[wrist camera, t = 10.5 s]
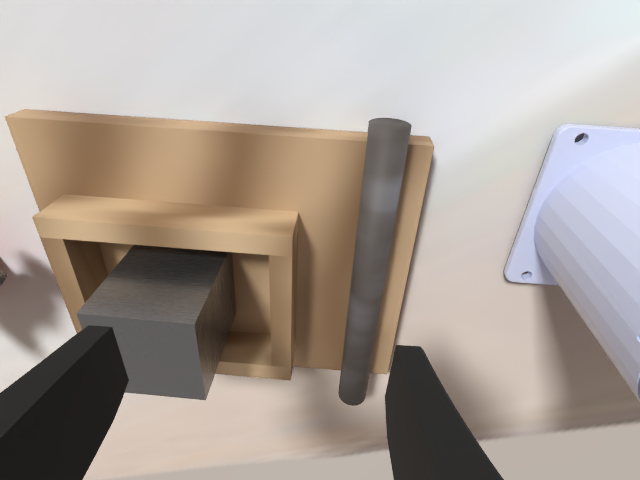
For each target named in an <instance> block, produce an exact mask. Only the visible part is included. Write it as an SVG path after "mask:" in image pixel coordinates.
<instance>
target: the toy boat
mask: <svg viewBox="0 0 640 480" xmlns="http://www.w3.org/2000/svg"><path fill="white" fill-rule="evenodd" d="M6 277H7V274H6V273H5V272H3V271H1V270H0V285H1V284H2V283H3V281H4V280H5V278H6Z"/></svg>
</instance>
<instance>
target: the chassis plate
mask: <svg viewBox="0 0 640 480" xmlns="http://www.w3.org/2000/svg"><path fill="white" fill-rule="evenodd" d="M5 119H6V121H7V124H8V127H9V130H10V132H11V135H12V138H13V140H14V143H15V146H16V149H17V151H18V154H19V157H20V159H21V162H22V165H23V168H24V170H25V173H26V176H27V178H28V181H29V184H30V187H31V189H32V192H33V195H34V197H35V200H36V203H37V205H38V208H39V211H40V212H39V213H37V214H36V215H35V216H33V217H32V218H33V220H34V223H35V225H36V228H37V231H38V233H39V236H40V238H41V241H42V244H43V246H44V249H45V251H46V254H47V257H48V259H49V262H50V264H51V267H52V270H53V272H54V275H55V278H56V280H57V283H58V285H59V288H60V291H61V293H62V296H63V298H64V301H65V304H66V306H67V309H68V311H69V314H70V317H71V319H72V322H73V325H74V327H75V330H76V332H77V334H78V333H79V332H80V331H82V328H81V325H80V322H79V320H78V317H77V314H76V313H77V312H78V311H79V310H80V309H81V307H82V306H83V305H84V304H85V303H86V301H87V300H88V299H89V298H90V297H91V295H92V294H93V293H94V292H95V291H96V289H97V288H98V287H99V286H100V285H101V284H102V282H103V281H104V280H105V279H106V278H107V276H108V275H109V274H110V273H111V272H112V270H113V269H114V268H115V267H116V266H117V264H118V263H119V262H120V261H121V260H122V258H123V257H124V256H125V255H126V254H127V253H128V251H129V250H130V249H131V248H132V247H133V245H145V246H158V247H171V248H184V249H197V250H210V251H223V252H232V259H233V273H234V287H235V301H236V315H235V318H234V321H233V324H232V327H231V330H230V333H229V335H228V338H227V341H226V344H225V347H224V350H223V352H222V355H221V358H220V361H219V364H218V367H217V369H216V372H215V374H225V375H236V376H247V377H259V378H270V379H282V380H291V374H292V368H293V366H297V367H309V368H320V369H332V370H341V375H340V384H339V397H340V399H341V400H342V401H343V402H344V403H346V404H348V405H359V404H361V403H362V402H363V401H364V399H365V396H366V390H367V385H368V379H369V373H378V374H387V373H388V368H389V363H390V358H391V353H392V349H393V344H394V339H395V334H396V329H397V324H398V320H399V315H400V310H401V305H402V300H403V295H404V290H405V286H406V281H407V276H408V271H409V266H410V261H411V256H412V252H413V247H414V242H415V237H416V232H417V227H418V222H419V218H420V213H421V208H422V203H423V198H424V193H425V188H426V184H427V179H428V174H429V169H430V164H431V159H432V154H433V150H434V145H433V143H432V141H431V139H430V137H426V136H411V135H410V132H411V124H409V123H408V122H405V121H402V120H398V119H392V118H376V119H372V120H370V121H369V127H368V133H367V132H352V131H337V130H323V129H308V128H293V127H278V126H263V125H249V124H234V123H219V122H204V121H190V120H175V119H160V118H145V117H130V116H116V115H101V114H86V113H71V112H57V111H42V110H27V109H24V110H21V111H18V112H16V113H13V114H11V115H8V116H5Z"/></svg>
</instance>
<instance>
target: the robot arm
mask: <svg viewBox="0 0 640 480" xmlns="http://www.w3.org/2000/svg"><path fill="white" fill-rule="evenodd" d="M581 133H584V137H583V138H582V140H580V141H579V142H575V138H576V137H577V136H578V135H579V134H581ZM526 271H529V272H528V273H527V274H525V275H522V273H524V272H526ZM504 274H505V276H506V278H507V280H509V281H511V282H520V283H532V284H545V285H558V286H560V287H561V289H562V290H563V292H564V293H565V295H566V296H567V297H568V299H569V300H570V302H571V303H572V305H573V306H574V308H575V309H576V310H577V312H578V313H579V315H580V316H581V318H582V319H583V321H584V322H585V324H586V325H587V326H588V328H589V329H590V331H591V332H592V334H593V335H594V337H595V338H596V339H597V341H598V342H599V344H600V345H601V347H602V348H603V350H604V351H605V353H606V354H607V355H608V357H609V358H610V360H611V361H612V363H613V364H614V366H615V367H616V369H617V370H618V371H619V373H620V374H621V376H622V377H623V379H624V380H625V382H626V383H627V384H628V386H629V387H630V389H631V390H632V392H633V393H634V395H635V396H636V398H637V399H638V400H639V402H640V128H625V127H610V126H594V125H579V124H565V125H563V126H561V127H559V128H558V129H557V130H556V131H555V133H554V135H553V137H552V140H551V143H550V145H549V148H548V151H547V154H546V156H545V159H544V162H543V165H542V167H541V170H540V173H539V176H538V178H537V181H536V184H535V187H534V189H533V192H532V195H531V198H530V200H529V203H528V206H527V209H526V211H525V214H524V217H523V220H522V222H521V225H520V228H519V231H518V233H517V236H516V239H515V242H514V244H513V247H512V250H511V253H510V255H509V258H508V261H507V264H506V266H505V269H504ZM128 381H129V379H128V375H127V372H126V369H125V366H124V363H123V359H122V356H121V353H120V350H119V347H118V344H117V340H116V337H115V334H114V331H113V328H112V327H107V326H92V325H88V326H87V327H86V328H84V329H83V330H82V331H80V332H79V333H78V334H76V335H75V336H74V337H72V338H71V339H70V340H68V341H67V342H66V343H65V344H63V345H62V346H61V347H59V348H58V349H57V350H56V351H54V352H53V353H52V354H50V355H49V356H48V357H47V358H45V359H44V360H43V361H42V362H40V363H39V364H38V365H36V366H35V367H34V368H32V369H31V370H30V371H29V372H27V373H26V374H25V375H23V376H22V377H21V378H19V379H18V380H17V381H15V382H14V383H13V384H12V385H10V386H9V387H8V388H6V389H5V390H4V391H2V392H1V393H0V480H82V479H83V478H84V476H85V474H86V472H87V470H88V468H89V466H90V464H91V462H92V461H93V459H94V457H95V455H96V453H97V451H98V449H99V447H100V445H101V444H102V442H103V440H104V438H105V436H106V434H107V432H108V430H109V428H110V426H111V424H112V422H113V420H114V418H115V416H116V413H117V411H118V408H119V406H120V403H121V400H122V398H123V395H124V392H125V390H126V387H127V384H128ZM385 405H386V424H387V438H388V445H389V451H390V458H391V464H392V470H393V476H394V480H504V479H503V478H502V477H501V475H500V474H499V473H498V471H497V470H496V469H495V467H494V466H493V464H492V463H491V462H490V460H489V458H488V457H487V455H486V454H485V453H484V451H483V450H482V448H481V447H480V445H479V444H478V442H477V441H476V439H475V438H474V436H473V435H472V433H471V432H470V430H469V428H468V427H467V425H466V424H465V422H464V421H463V419H462V417H461V416H460V414H459V413H458V411H457V409H456V408H455V406H454V404H453V403H452V401H451V399H450V398H449V396H448V394H447V393H446V391H445V389H444V387H443V386H442V384H441V382H440V380H439V379H438V377H437V375H436V373H435V371H434V369H433V368H432V366H431V364H430V362H429V360H428V358H427V356H426V354H425V352H424V350H423V349H422V348H421V347H418V346H402V345H396V347H395V352H394V357H393V362H392V366H391V371H390V376H389V381H388V385H387V390H386V395H385Z"/></svg>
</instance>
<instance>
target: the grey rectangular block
mask: <svg viewBox="0 0 640 480" xmlns="http://www.w3.org/2000/svg"><path fill="white" fill-rule="evenodd" d="M76 314H77V317H78V320H79V322H80V325H81V328H82V330H83V329H84V328H86V327H87V326H88V325H92V326H107V327H112V328H113V331H114V334H115V337H116V340H117V344H118V347H119V350H120V353H121V356H122V359H123V363H124V366H125V369H126V372H127V375H128V379H129V381H128V384H127V387H126V390H125V392H127V393H137V394H148V395H158V396H168V397H179V398H189V399H200V400H206V398H207V395H208V392H209V389H210V386H211V384H212V381H213V378H214V375H215V372H216V369H217V367H218V364H219V361H220V358H221V355H222V352H223V350H224V347H225V344H226V341H227V338H228V335H229V333H230V330H231V327H232V324H233V321H234V318H235V315H236V301H235V287H234V273H233V259H232V252H223V251H210V250H197V249H184V248H171V247H158V246H145V245H133V247H132V248H131V249H130V250H129V251H128V253H127V254H126V255H125V256H124V257H123V258H122V260H121V261H120V262H119V263H118V264H117V266H116V267H115V268H114V269H113V270H112V272H111V273H110V274H109V275H108V276H107V278H106V279H105V280H104V281H103V282H102V284H101V285H100V286H99V287H98V288H97V289H96V291H95V292H94V293H93V294H92V295H91V297H90V298H89V299H88V300H87V301H86V303H85V304H84V305H83V306H82V307H81V309H80V310H79V311H78V312H77V313H76Z"/></svg>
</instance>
